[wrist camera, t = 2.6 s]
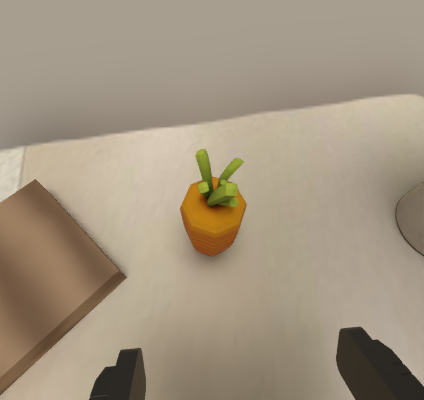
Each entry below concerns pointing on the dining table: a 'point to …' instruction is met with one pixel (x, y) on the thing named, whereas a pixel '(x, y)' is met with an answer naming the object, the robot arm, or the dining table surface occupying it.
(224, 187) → the carrot
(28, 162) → the dining table surface
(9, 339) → the walnut plinth
